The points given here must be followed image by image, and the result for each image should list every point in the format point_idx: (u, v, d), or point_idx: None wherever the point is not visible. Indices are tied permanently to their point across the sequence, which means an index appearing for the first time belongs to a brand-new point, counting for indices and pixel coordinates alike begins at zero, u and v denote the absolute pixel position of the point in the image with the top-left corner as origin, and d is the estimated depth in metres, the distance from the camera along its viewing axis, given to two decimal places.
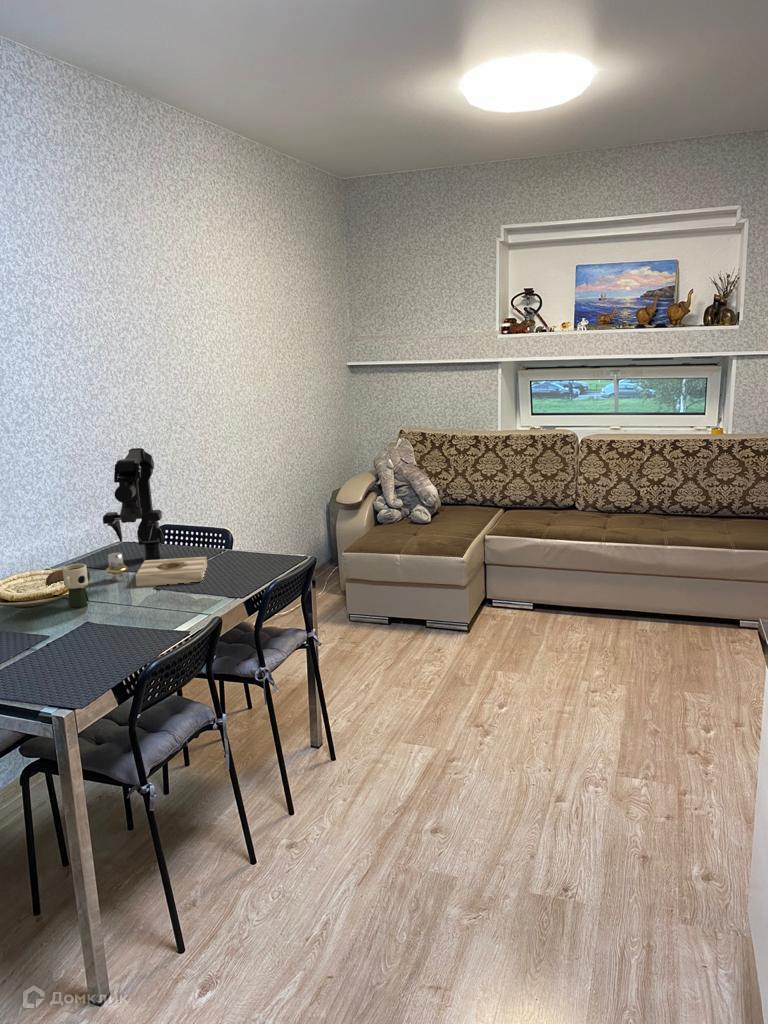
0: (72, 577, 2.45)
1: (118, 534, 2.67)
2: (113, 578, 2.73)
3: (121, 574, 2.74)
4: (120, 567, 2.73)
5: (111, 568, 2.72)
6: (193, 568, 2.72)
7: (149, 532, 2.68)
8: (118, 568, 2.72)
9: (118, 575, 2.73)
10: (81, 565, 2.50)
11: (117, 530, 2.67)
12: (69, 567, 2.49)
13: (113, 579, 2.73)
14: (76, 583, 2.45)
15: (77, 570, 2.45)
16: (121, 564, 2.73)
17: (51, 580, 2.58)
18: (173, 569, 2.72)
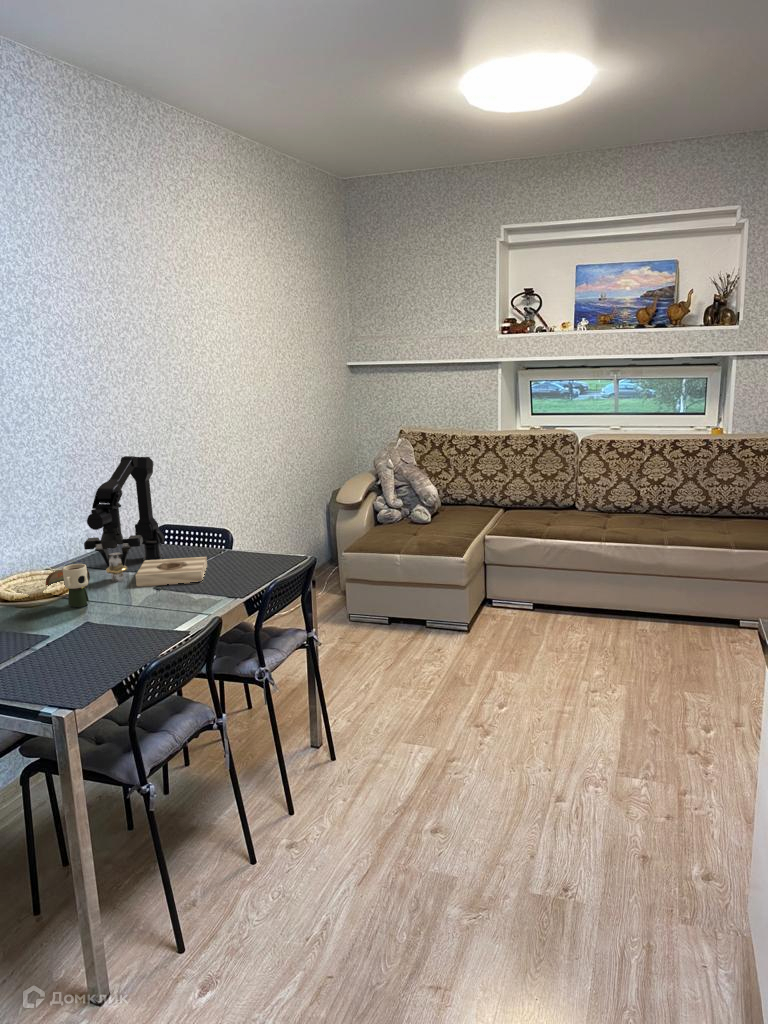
0: (72, 577, 2.45)
1: (105, 559, 2.72)
2: (113, 578, 2.73)
3: (121, 574, 2.74)
4: (120, 567, 2.73)
5: (111, 568, 2.72)
6: (193, 568, 2.72)
7: (124, 558, 2.73)
8: (118, 568, 2.72)
9: (118, 575, 2.73)
10: (81, 565, 2.50)
11: (104, 555, 2.72)
12: (69, 567, 2.49)
13: (113, 579, 2.73)
14: (76, 583, 2.45)
15: (77, 570, 2.45)
16: (121, 564, 2.73)
17: (51, 580, 2.58)
18: (173, 569, 2.72)
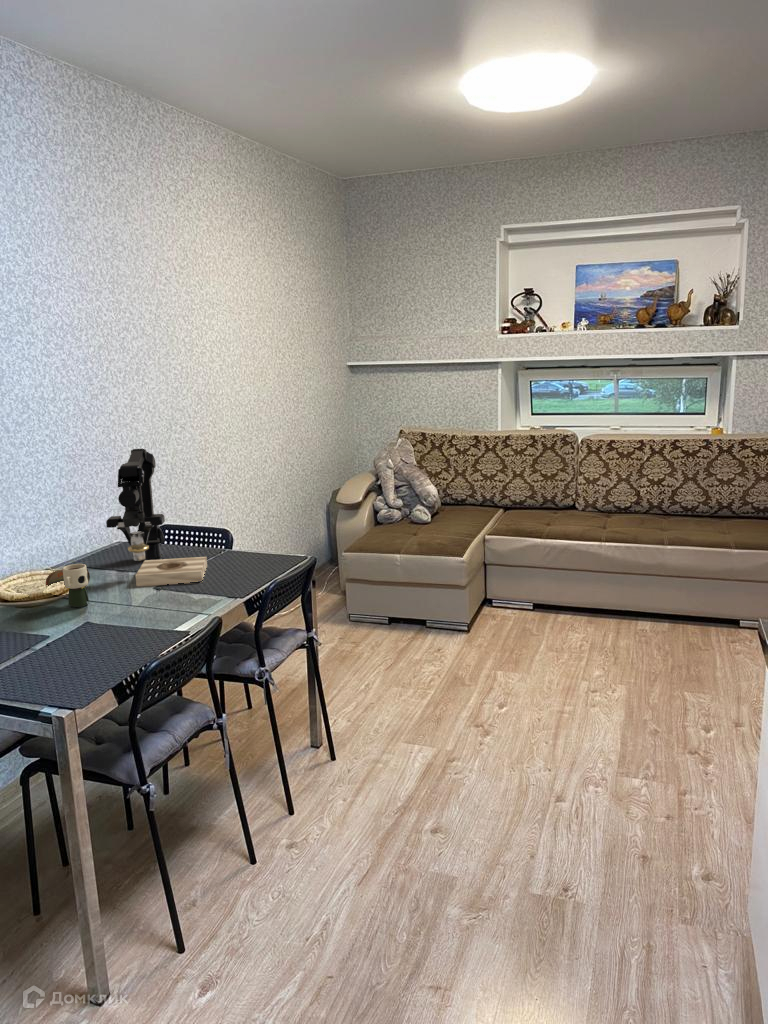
0: (72, 577, 2.45)
1: (127, 537, 2.71)
2: (135, 557, 2.73)
3: (143, 553, 2.73)
4: (142, 546, 2.72)
5: (133, 547, 2.71)
6: (193, 568, 2.72)
7: (146, 536, 2.72)
8: (140, 547, 2.71)
9: (140, 554, 2.72)
10: (81, 565, 2.50)
11: (126, 533, 2.71)
12: (69, 567, 2.49)
13: (135, 558, 2.73)
14: (76, 583, 2.45)
15: (77, 570, 2.45)
16: (143, 543, 2.72)
17: (51, 580, 2.58)
18: (173, 569, 2.72)
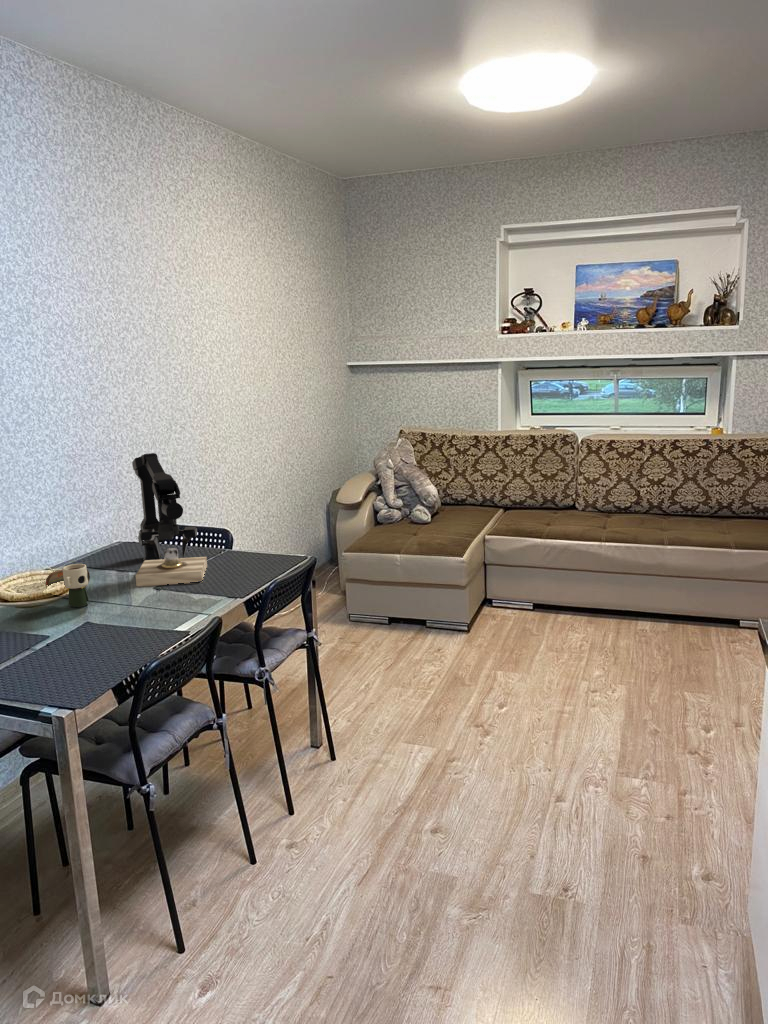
0: (72, 577, 2.45)
1: (156, 550, 2.74)
2: None
3: None
4: (176, 562, 2.75)
5: (167, 563, 2.74)
6: (193, 568, 2.72)
7: (184, 548, 2.75)
8: (174, 563, 2.74)
9: None
10: (81, 565, 2.50)
11: (155, 546, 2.73)
12: (69, 567, 2.49)
13: None
14: (76, 583, 2.45)
15: (77, 570, 2.45)
16: (176, 559, 2.75)
17: (51, 580, 2.58)
18: (173, 569, 2.72)
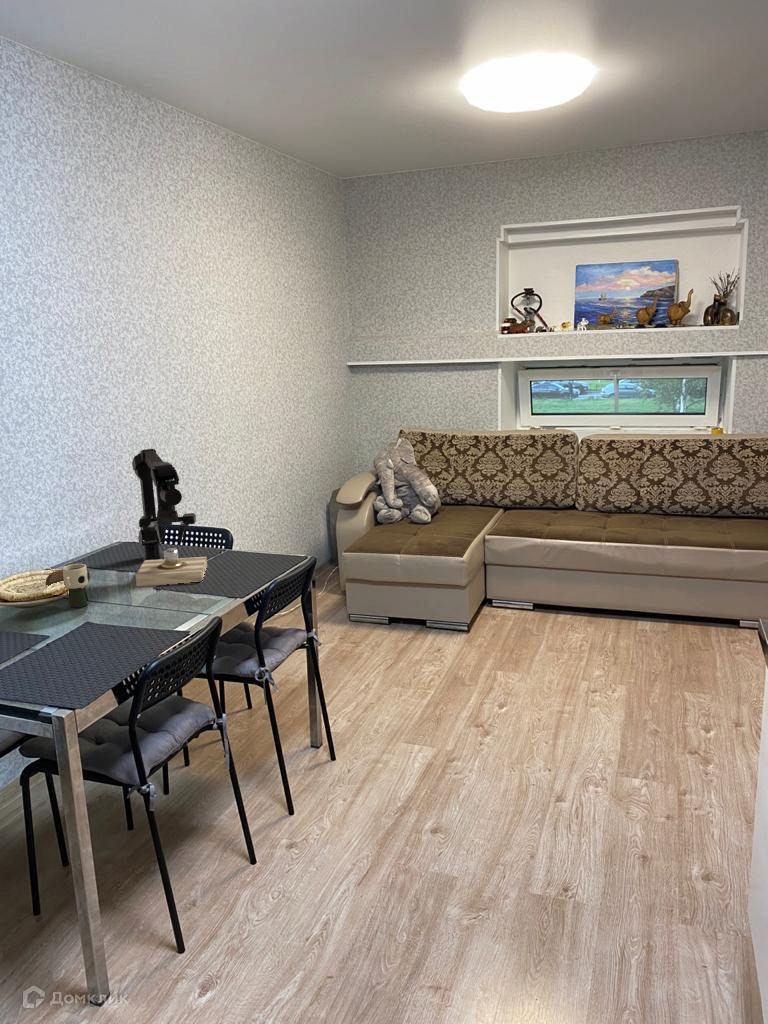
0: (72, 577, 2.45)
1: (156, 537, 2.73)
2: None
3: None
4: (176, 562, 2.75)
5: (167, 563, 2.74)
6: (193, 568, 2.72)
7: (181, 535, 2.73)
8: (174, 563, 2.74)
9: None
10: (81, 565, 2.50)
11: (156, 533, 2.72)
12: (69, 567, 2.49)
13: None
14: (76, 583, 2.45)
15: (77, 570, 2.45)
16: (176, 559, 2.75)
17: (51, 580, 2.58)
18: (173, 569, 2.72)
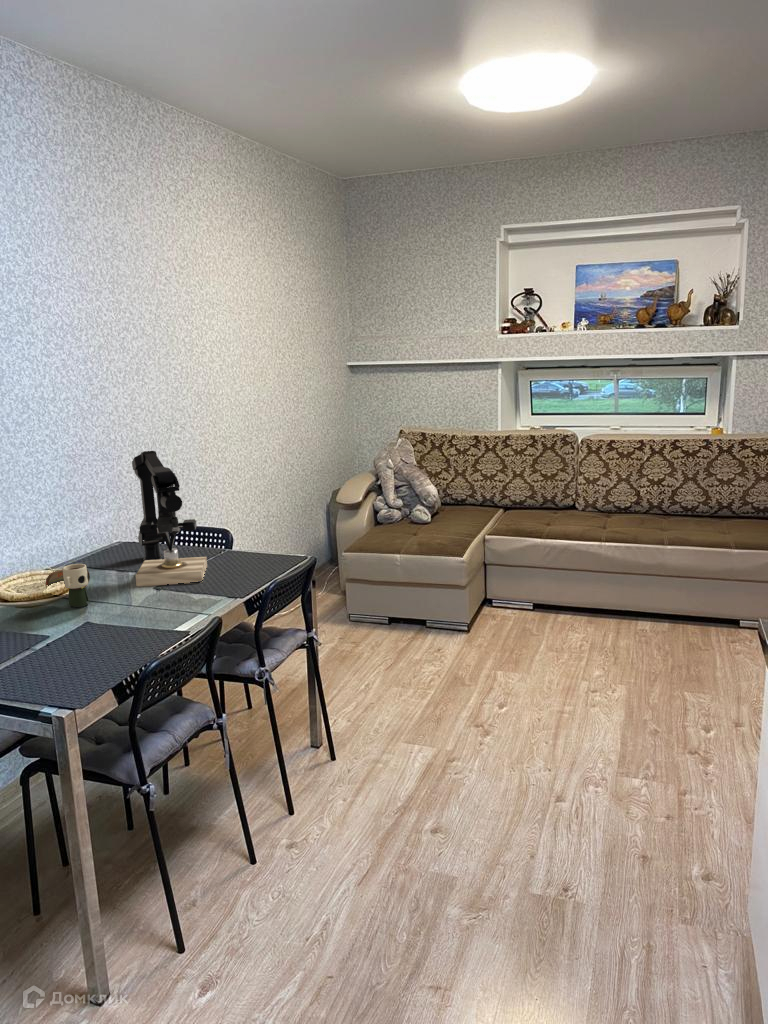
0: (72, 577, 2.45)
1: (167, 542, 2.73)
2: None
3: None
4: (176, 562, 2.75)
5: (167, 563, 2.74)
6: (193, 568, 2.72)
7: (171, 542, 2.74)
8: (174, 563, 2.74)
9: None
10: (81, 565, 2.50)
11: (166, 539, 2.73)
12: (69, 567, 2.49)
13: None
14: (76, 583, 2.45)
15: (77, 570, 2.45)
16: (176, 559, 2.75)
17: (51, 580, 2.58)
18: (173, 569, 2.72)
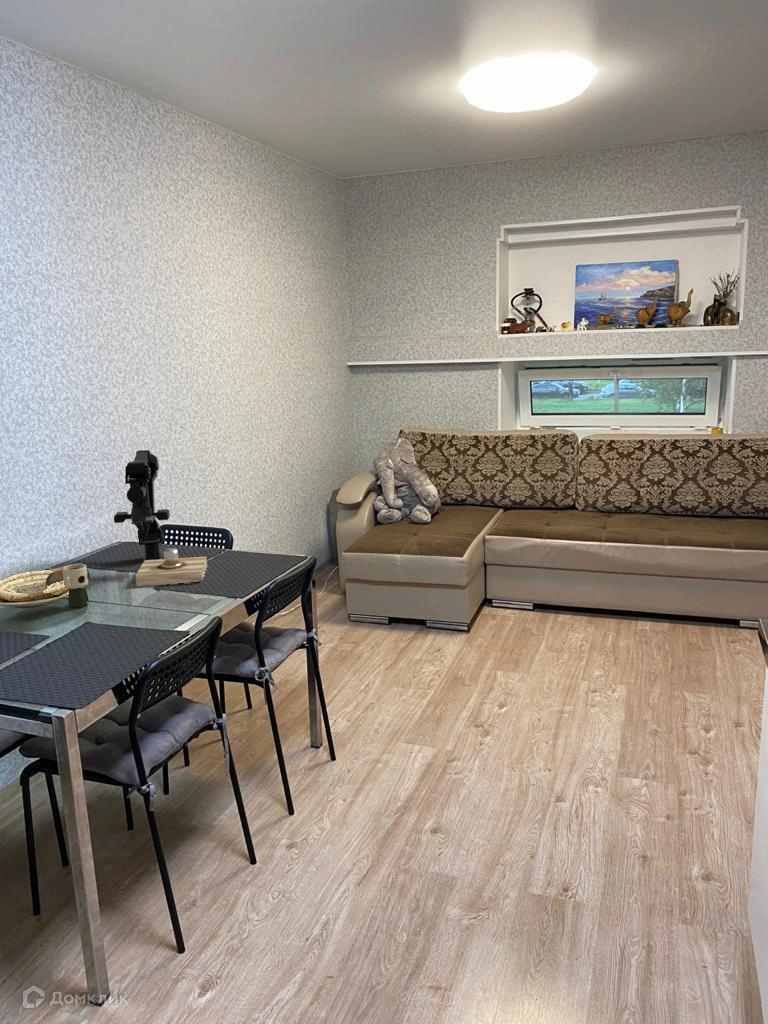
0: (72, 577, 2.45)
1: (141, 532, 2.81)
2: None
3: None
4: (176, 562, 2.75)
5: (167, 563, 2.74)
6: (193, 568, 2.72)
7: (145, 531, 2.81)
8: (174, 563, 2.74)
9: None
10: (81, 565, 2.50)
11: (140, 528, 2.80)
12: (69, 567, 2.49)
13: None
14: (76, 583, 2.45)
15: (77, 570, 2.45)
16: (176, 559, 2.75)
17: (51, 580, 2.58)
18: (173, 569, 2.72)
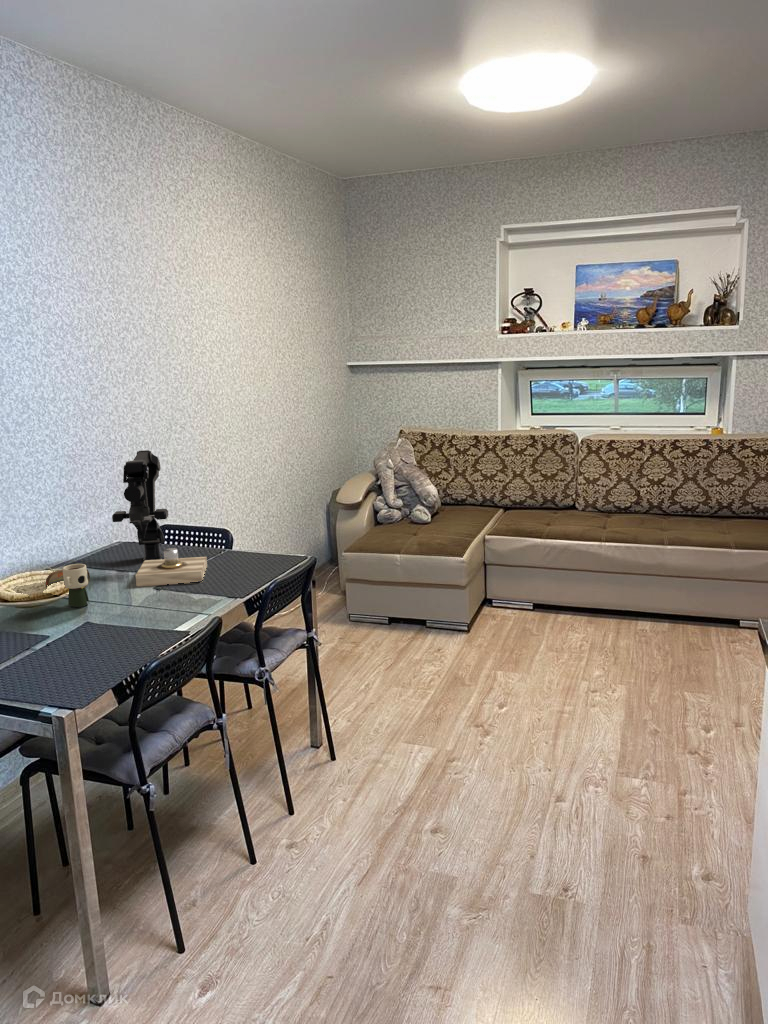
0: (72, 577, 2.45)
1: (139, 531, 2.81)
2: None
3: None
4: (176, 562, 2.75)
5: (167, 563, 2.74)
6: (193, 568, 2.72)
7: (144, 531, 2.81)
8: (174, 563, 2.74)
9: None
10: (81, 565, 2.50)
11: (138, 527, 2.81)
12: (69, 567, 2.49)
13: None
14: (76, 583, 2.45)
15: (77, 570, 2.45)
16: (176, 559, 2.75)
17: (51, 580, 2.58)
18: (173, 569, 2.72)
